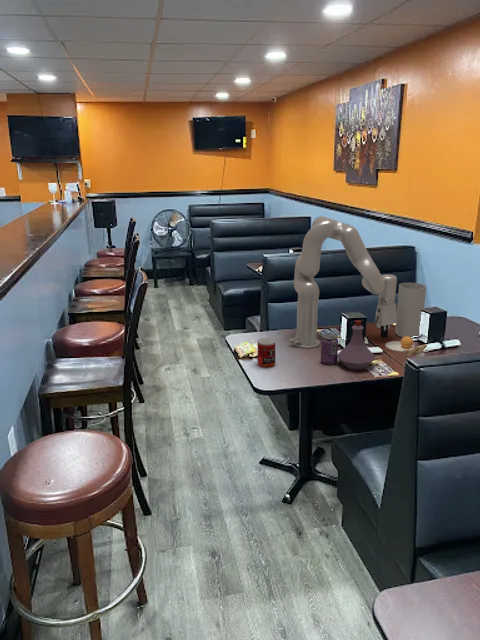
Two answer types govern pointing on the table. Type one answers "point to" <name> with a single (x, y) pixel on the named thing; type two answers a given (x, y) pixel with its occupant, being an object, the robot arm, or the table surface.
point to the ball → (406, 342)
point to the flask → (356, 350)
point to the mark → (396, 346)
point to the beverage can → (329, 349)
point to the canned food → (266, 352)
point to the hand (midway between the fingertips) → (384, 337)
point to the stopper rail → (414, 350)
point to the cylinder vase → (409, 308)
